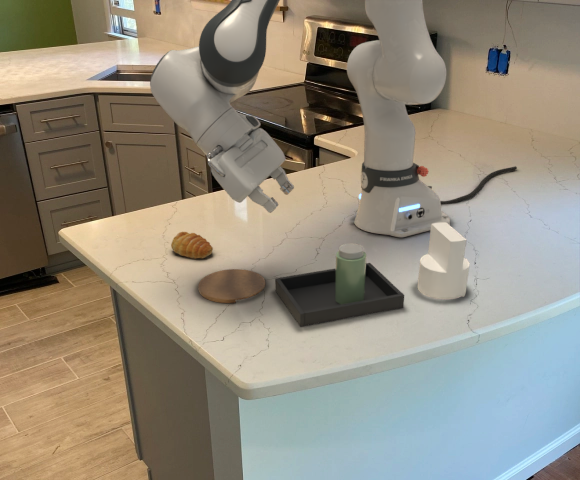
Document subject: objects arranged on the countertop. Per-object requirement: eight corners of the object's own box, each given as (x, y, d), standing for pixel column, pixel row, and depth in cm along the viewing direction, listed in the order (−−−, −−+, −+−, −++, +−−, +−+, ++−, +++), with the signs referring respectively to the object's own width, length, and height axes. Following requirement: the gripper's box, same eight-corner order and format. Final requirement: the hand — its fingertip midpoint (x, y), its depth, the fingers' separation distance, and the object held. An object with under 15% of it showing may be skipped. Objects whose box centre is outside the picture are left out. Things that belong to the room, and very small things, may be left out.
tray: (369, 276, 124) (370, 262, 123) (403, 310, 113) (404, 295, 111) (275, 292, 119) (274, 278, 118) (300, 329, 107) (300, 314, 106)
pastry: (220, 252, 136) (219, 236, 134) (198, 263, 131) (197, 247, 129) (190, 242, 141) (188, 226, 139) (168, 253, 136) (165, 236, 134)
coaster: (255, 268, 129) (255, 265, 128) (273, 296, 118) (273, 292, 118) (192, 278, 125) (192, 274, 125) (206, 308, 115) (205, 304, 114)
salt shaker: (357, 290, 118) (359, 240, 113) (369, 303, 114) (371, 251, 108) (330, 295, 117) (331, 244, 111) (341, 308, 112) (343, 256, 107)
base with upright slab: (473, 299, 116) (483, 238, 109) (428, 304, 114) (435, 243, 108) (453, 278, 123) (460, 220, 117) (410, 283, 122) (415, 224, 115)
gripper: (214, 142, 96) (276, 209, 99) (258, 114, 113) (310, 171, 115) (190, 169, 100) (251, 232, 102) (236, 137, 116) (287, 193, 119)
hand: (283, 200), depth 109 cm, fingers open, 8 cm apart
